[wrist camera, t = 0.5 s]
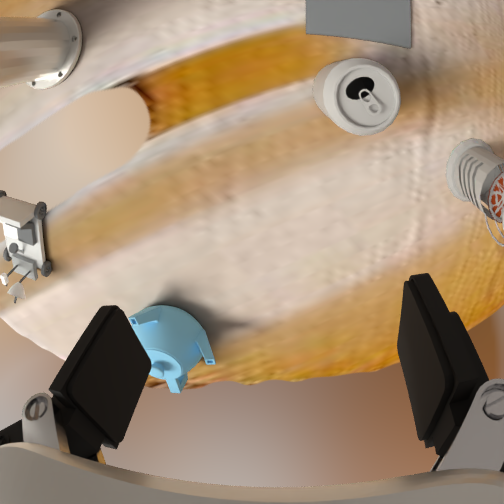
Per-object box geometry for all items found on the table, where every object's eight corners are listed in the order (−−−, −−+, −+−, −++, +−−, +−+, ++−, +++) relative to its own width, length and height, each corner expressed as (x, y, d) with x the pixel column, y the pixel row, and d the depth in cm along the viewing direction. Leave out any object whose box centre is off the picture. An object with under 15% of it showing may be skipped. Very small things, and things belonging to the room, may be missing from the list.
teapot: (123, 330, 59) (103, 371, 50) (147, 282, 51) (123, 326, 42) (190, 364, 62) (178, 407, 53) (226, 324, 55) (216, 373, 46)
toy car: (29, 313, 46) (-12, 292, 45) (54, 281, 55) (14, 265, 54) (11, 226, 37) (-31, 211, 36) (46, 199, 45) (3, 187, 44)
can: (350, 51, 31) (379, 42, 21) (382, 102, 34) (421, 115, 24) (299, 81, 34) (307, 83, 24) (333, 131, 37) (354, 154, 26)
